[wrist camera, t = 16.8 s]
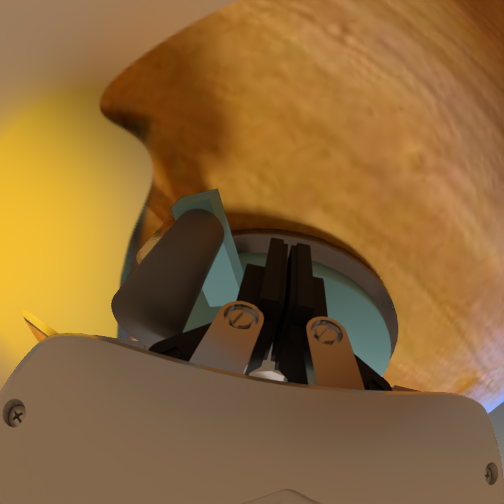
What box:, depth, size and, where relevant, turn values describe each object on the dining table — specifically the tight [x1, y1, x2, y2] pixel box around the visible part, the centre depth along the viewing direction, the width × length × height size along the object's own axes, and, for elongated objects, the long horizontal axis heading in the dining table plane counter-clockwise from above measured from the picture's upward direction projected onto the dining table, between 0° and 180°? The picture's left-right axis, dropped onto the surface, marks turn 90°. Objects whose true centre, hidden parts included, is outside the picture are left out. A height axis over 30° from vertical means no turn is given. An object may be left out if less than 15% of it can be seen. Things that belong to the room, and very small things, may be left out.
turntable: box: [111, 189, 391, 381], centre depth 17 cm, size 24×20×9 cm
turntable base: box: [136, 215, 398, 358], centre depth 20 cm, size 22×23×5 cm
